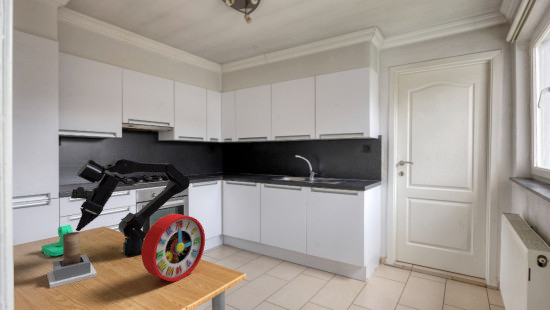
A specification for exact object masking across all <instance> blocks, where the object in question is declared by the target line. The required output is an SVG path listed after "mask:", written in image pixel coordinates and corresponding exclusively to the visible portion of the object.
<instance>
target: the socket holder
mask: <svg viewBox="0 0 550 310" xmlns="http://www.w3.org/2000/svg"><path fill="white" fill-rule="evenodd" d="M46 276H47V281H48V285H49V288H50V289H51V288H56V287H61V286H64V285H68V284H72V283H76V282H79V281H83V280H88V279H92V278H94V277H98V273H97V270H96V269H95V268H94V266H93V264H92V262H91V261H90V259H89V257H88V256H87V254H86V253H85V254H80V263H77V264H73V265H68V266H63V258H62V259H57V260H56V259H55V260H52V270H48V271H46Z"/></svg>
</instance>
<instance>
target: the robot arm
mask: <svg viewBox="0 0 550 310" xmlns="http://www.w3.org/2000/svg"><path fill="white" fill-rule="evenodd" d="M108 172H109V173H108ZM76 173H77V174H76V176H77V177H78V178H81V179H83V180H85V181H86V182H89V183H92V184H94V183H98V184H97V185H96V187H95V188H93V189H92V190H86V189H85V187H83V186H78V187H77V188H73V189H72V191H71V195H70V199H74V200H77V199H81V200H85V201H83V203H82V204H81V205H80V208H79V209H80V212H81V216H80V219H79V221H78V223H77V225H76V228H75V232H80V231H82V230H83V229H84V228H85V227H86V226H88V225H89V224H90V223H92V222H93V221H94V220H95V219H96V218H98V217H99V216H100V215H101V213H102V212H103V210H104V207H105V206H106V204H107V203H108V201H109V200H110V198H112V195H113V193H114V192H115V190H116V189H117V187H118V186H119V184H120V183H121V184H123V185H127V181H126V177H125V176H119V175H128V174H130V175H131V174H134V173H164V175H165V177H166V178H167V179H168V180H169V181H168V182H167V185H166V186H165V187H164V189H163V190H162V191H160V192H159V194H157V195H156V196H155V197H154V198H153V199H151V200H150V201H149V202H148V203H147V204H146V205H144V206H143V207H142V208H141V209H139V210H138V211H137V212H136V213H132V212H130V211H129V212H128V213H127V214H126V215H125V216H124V217H122V218H121V219H120V220H121V221H120V222H119V223H118V231H119V232H120V233H121V234H122V235H124V237H125V238H124V242H123V243H122V244H123V245H122V247H123V248H122V253H123V254H124V255H125V256H126V257H127V258H131V257H135V256H140V255H142V246H143V242H144V239H145V236H146V235H147V233H146V232H145V231H143V230H142V229H143V227H144V226H145V224H146V222H147V220H148V219H150V217H152V216H153V215H154V214H155V213H156V212H157V211H158V210H159V209H160V208H162V207H163V206H164V205H165V204H166V203H167V202H168V201H170V199H172V197H174V196H176V195H179V194H181V193H182V192H185V190H187V189H188V188H189V187H190V184H191V183H190V182H191V181H190V179H189V178H188V177H187V176H185V175H184V174H183V173H182V172H180V171H179V170H178V169H177V168H176V167H175V165H174V164H173V163H168V162H167V163H157V162H156V163H154V162H153V163H152V162H138V161H133V160H130V159H126V158H114V159H113V160H112V161H111V162H110V163H108V164H106V165H101V164H99V163H96V162H95V161H94V160H93V159H88V160H87V162H85V163H84V164H83V165H82V166H81V167H80V169H78V171H77V172H76ZM110 173H112V174H110Z"/></svg>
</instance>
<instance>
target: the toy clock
mask: <svg viewBox="0 0 550 310" xmlns="http://www.w3.org/2000/svg"><path fill="white" fill-rule="evenodd" d="M205 245H206V234H205V230H204V227H203V225H202V224H201V222H200V221H199V220H198V219H197V218H195V217H193V216H189V215H184V214H180V213H169V214H166V215H165V216H162V217H160V218H159V219H158V220H156V221H155V222H154V223H153V224H152V225H151V226H150V228H149V230H148V231H147V233H146V236H145V238H144V242H143V246H142V254H141V261H142V264H143V267H144V269H145V270H146V271H147V272H148V273H149V274H150V275H152V276H155V277H157V278H159V279H162V280H164V281H168V282H177V281H181V280H182V279H185V278H186V277H188V276H189V275H190V274H191V273H193V272H194V270H195V268H197V266H198V265H199V263H200V261H201V259H202V256H203V254H204V250H205Z"/></svg>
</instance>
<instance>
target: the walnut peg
mask: <svg viewBox="0 0 550 310" xmlns="http://www.w3.org/2000/svg"><path fill="white" fill-rule="evenodd" d="M80 237H81V232H80V231H73V232H71V233H66V234H64V235H63V254H62V257H63V258H62V259H63V266H68V265H73V264H77V263H80V255H81V238H80Z"/></svg>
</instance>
